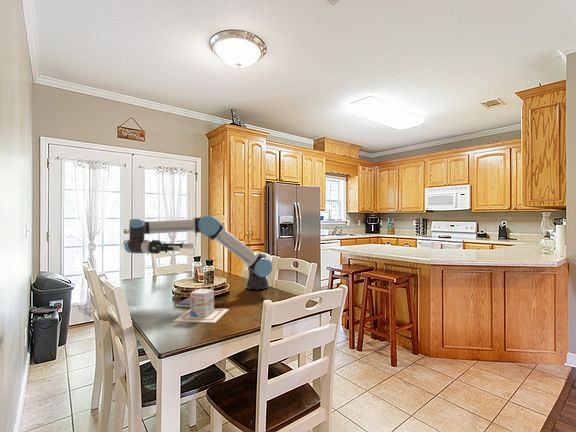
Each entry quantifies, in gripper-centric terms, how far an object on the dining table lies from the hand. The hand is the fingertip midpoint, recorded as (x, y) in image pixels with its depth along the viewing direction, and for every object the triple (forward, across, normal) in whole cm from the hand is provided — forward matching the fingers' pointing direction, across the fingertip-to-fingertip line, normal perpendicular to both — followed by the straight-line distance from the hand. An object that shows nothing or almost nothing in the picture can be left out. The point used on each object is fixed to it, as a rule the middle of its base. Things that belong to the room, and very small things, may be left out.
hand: (186, 247), depth 165 cm
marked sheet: (+16, +12, -32) cm, 38 cm away
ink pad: (+1, -5, -32) cm, 32 cm away
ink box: (+16, +13, -32) cm, 38 cm away
